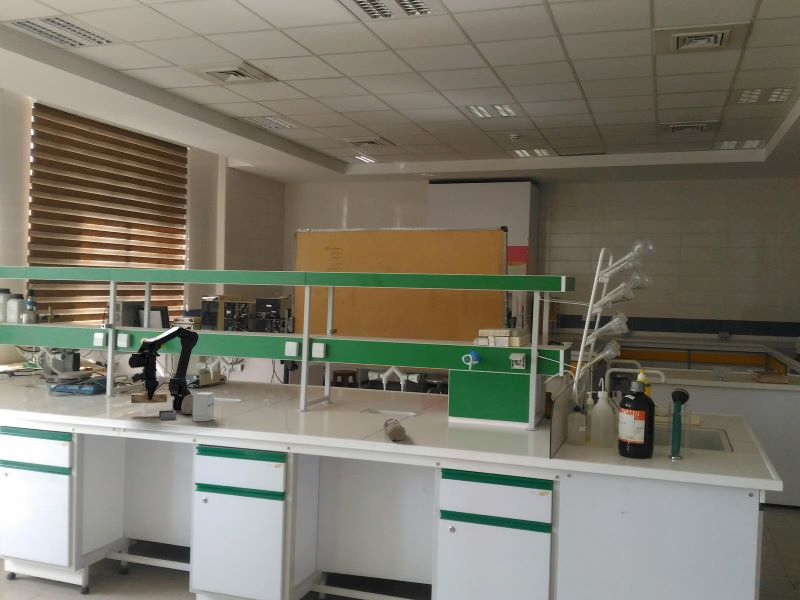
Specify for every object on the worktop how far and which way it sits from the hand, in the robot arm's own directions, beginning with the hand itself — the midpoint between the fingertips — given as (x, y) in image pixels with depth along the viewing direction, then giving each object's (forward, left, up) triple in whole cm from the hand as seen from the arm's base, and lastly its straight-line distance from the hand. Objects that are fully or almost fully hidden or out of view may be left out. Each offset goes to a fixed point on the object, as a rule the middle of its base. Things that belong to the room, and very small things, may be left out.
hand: (149, 399), depth 349 cm
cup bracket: (-7, +12, -7) cm, 16 cm away
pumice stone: (-21, +6, -8) cm, 23 cm away
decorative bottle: (-90, +83, -8) cm, 123 cm away
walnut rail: (0, 0, -1) cm, 1 cm away
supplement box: (-21, +23, -8) cm, 32 cm away
